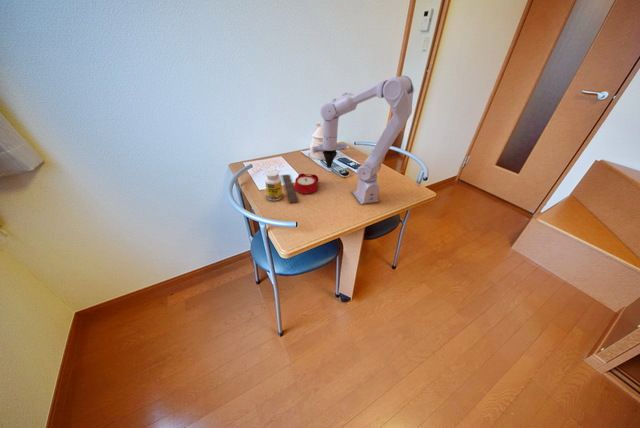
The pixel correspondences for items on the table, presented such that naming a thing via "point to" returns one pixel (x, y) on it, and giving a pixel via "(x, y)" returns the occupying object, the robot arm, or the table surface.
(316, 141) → the honey pot
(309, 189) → the alarm clock
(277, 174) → the pill bottle
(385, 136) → the robot arm
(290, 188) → the ruler
